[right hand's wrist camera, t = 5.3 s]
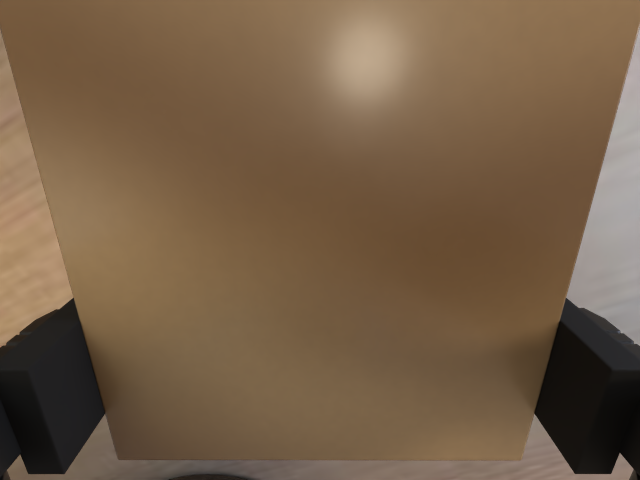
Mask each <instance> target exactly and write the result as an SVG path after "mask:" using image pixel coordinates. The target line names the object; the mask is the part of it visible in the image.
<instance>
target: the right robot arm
mask: <svg viewBox="0 0 640 480" xmlns="http://www.w3.org/2000/svg"><path fill="white" fill-rule="evenodd" d="M633 342H634V341H632V340H631V339H630V338H629V337H627V336H626V335H625V334H624V333H620V330H618V329H617V328H616V327H615V326H613V325H612V324H611V323H610V322H608V321H607V320H606V319H604V318H602V317H600V316H598V315H596V314H594V313H593V312H591V311H589V310H587V309H585V308H578V307H577V306H575V305H574V304H573V303H572V302H571V301H569V300H568V299H567V298H566V299H565V303H564V307H563V310H562V314H561V318H560V321H559V325H558V328H557V332H556V336H555V339H554V343H553V347H552V350H551V354H550V358H549V361H548V365H547V369H546V372H545V376H544V380H543V383H542V387H541V391H540V394H539V398H538V402H537V405H536V409H535V415H536V416H537V418H538V419H539V421H540V422H541V424H542V425H543V427H544V428H545V430H546V431H547V433H548V434H549V436H550V437H551V439H552V440H553V442H554V443H555V445H556V446H557V448H558V449H559V451H560V452H561V454H562V455H563V457H564V458H565V460H566V461H567V463H568V464H569V466H570V467H571V469H572V470H573V471H574V473H575V474H611V473H612V470H613V468H614V465H615V463H616V460H617V458H618V456H619V453H621V454H622V456H623V457H624V458H625V459H626V460H627V461H628V463H629V464H630V465H631V466H632V467H633V469H634V470H633V472H632V474H631V477H630V479H629V480H640V346H639V345H637V344H634V343H633ZM104 414H105V411H104V407H103V403H102V400H101V396H100V392H99V389H98V385H97V381H96V378H95V374H94V370H93V367H92V363H91V359H90V356H89V352H88V348H87V345H86V341H85V337H84V334H83V330H82V326H81V323H80V319H79V315H78V312H77V308H76V304H75V301H74V298H73V299H71V300H70V301H69V302H68V303H67V304H65V305H64V306H63V307H62V308H60V309H56V310H54V311H52V312H50V313H48V314H46V315H44V316H42V317H40V318H38V319H36V320H35V321H33V322H32V323H31V324H30V325H28V326H27V327H26V328H25V329H23V330H22V331H21V332H20V334H19V335H16V336H15V337H13V338H12V339H11V340H9V341H8V342H7V343H6V346H2V347H1V348H0V480H10V477H9V474H8V472H7V469H8V468H9V467H10V466H11V464H12V463H13V462H14V461H15V460H16V458H17V457H18V456H19V455H21V457H22V459H23V462H24V464H25V467H26V469H27V472H28V474H65V472H66V471H67V469H68V468H69V466H70V465H71V463H72V462H73V460H74V459H75V457H76V456H77V455H78V453H79V452H80V450H81V449H82V447H83V446H84V444H85V443H86V441H87V440H88V438H89V437H90V435H91V434H92V432H93V431H94V429H95V428H96V426H97V425H98V423H99V422H100V420H101V419H102V417H103V416H104ZM169 480H246V479H241V478H237V477H231V476H223V475H191V476H183V477H178V478H173V479H169Z"/></svg>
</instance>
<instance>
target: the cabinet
mask: <svg viewBox="0 0 640 480" xmlns="http://www.w3.org/2000/svg"><path fill="white" fill-rule="evenodd" d="M639 28H640V0H0V29H1V33H2V36H3V40H4V44H5V47H6V51H7V55H8V58H9V62H10V66H11V69H12V73H13V77H14V80H15V84H16V88H17V91H18V95H19V99H20V102H21V106H22V110H23V113H24V117H25V121H26V124H27V128H28V132H29V135H30V139H31V143H32V146H33V150H34V154H35V157H36V161H37V165H38V168H39V172H40V176H41V179H42V183H43V187H44V190H45V194H46V198H47V201H48V205H49V209H50V212H51V216H52V220H53V223H54V227H55V231H56V235H57V238H58V242H59V246H60V249H61V253H62V257H63V260H64V264H65V268H66V271H67V275H68V279H69V282H70V286H71V290H72V293H73V297H74V301H75V304H76V308H77V312H78V315H79V319H80V323H81V326H82V330H83V334H84V337H85V341H86V345H87V348H88V352H89V356H90V359H91V363H92V367H93V370H94V374H95V378H96V381H97V385H98V389H99V392H100V396H101V400H102V403H103V407H104V411H105V414H106V418H107V422H108V425H109V429H110V433H111V436H112V440H113V444H114V447H115V451H116V455H117V458H118V459H119V460H522V457H523V453H524V449H525V446H526V442H527V438H528V435H529V431H530V427H531V424H532V420H533V416H534V413H535V409H536V405H537V402H538V398H539V394H540V391H541V387H542V383H543V380H544V376H545V372H546V369H547V365H548V361H549V358H550V354H551V350H552V347H553V343H554V339H555V336H556V332H557V328H558V325H559V321H560V318H561V314H562V310H563V307H564V303H565V299H566V296H567V292H568V288H569V285H570V281H571V277H572V274H573V270H574V266H575V263H576V259H577V255H578V252H579V248H580V244H581V241H582V237H583V233H584V230H585V226H586V222H587V219H588V215H589V211H590V208H591V204H592V200H593V197H594V193H595V189H596V186H597V182H598V178H599V175H600V171H601V167H602V164H603V160H604V156H605V153H606V149H607V145H608V142H609V138H610V134H611V131H612V127H613V124H614V120H615V116H616V113H617V109H618V105H619V102H620V98H621V94H622V91H623V87H624V83H625V80H626V76H627V72H628V69H629V65H630V61H631V58H632V54H633V50H634V47H635V43H636V39H637V36H638V32H639Z"/></svg>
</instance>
